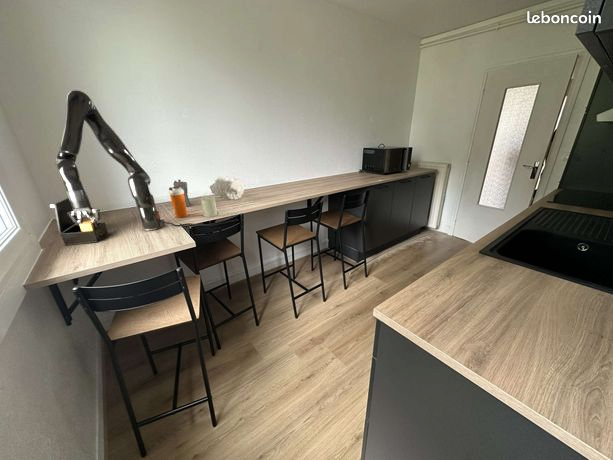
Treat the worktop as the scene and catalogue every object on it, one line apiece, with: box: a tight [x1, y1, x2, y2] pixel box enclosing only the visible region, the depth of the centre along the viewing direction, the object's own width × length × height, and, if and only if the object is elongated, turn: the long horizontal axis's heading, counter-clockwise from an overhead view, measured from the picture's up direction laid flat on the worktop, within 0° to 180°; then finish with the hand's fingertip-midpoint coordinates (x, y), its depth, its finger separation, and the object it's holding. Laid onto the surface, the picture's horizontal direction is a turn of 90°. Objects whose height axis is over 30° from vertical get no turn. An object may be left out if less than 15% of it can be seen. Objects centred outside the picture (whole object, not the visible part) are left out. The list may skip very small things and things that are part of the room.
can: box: [200, 196, 218, 218], centre depth 170 cm, size 9×9×12 cm
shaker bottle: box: [168, 186, 188, 219], centre depth 166 cm, size 9×9×20 cm
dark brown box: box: [60, 222, 109, 247], centre depth 136 cm, size 15×13×7 cm
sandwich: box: [80, 219, 95, 232], centre depth 135 cm, size 5×6×4 cm
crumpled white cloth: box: [209, 175, 245, 201], centre depth 204 cm, size 18×18×25 cm
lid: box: [49, 197, 76, 234], centre depth 130 cm, size 15×13×5 cm
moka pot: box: [172, 179, 191, 208], centre depth 187 cm, size 10×15×20 cm, turn 58°
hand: (90, 228), depth 136 cm, fingers closed on sandwich, 5 cm apart
